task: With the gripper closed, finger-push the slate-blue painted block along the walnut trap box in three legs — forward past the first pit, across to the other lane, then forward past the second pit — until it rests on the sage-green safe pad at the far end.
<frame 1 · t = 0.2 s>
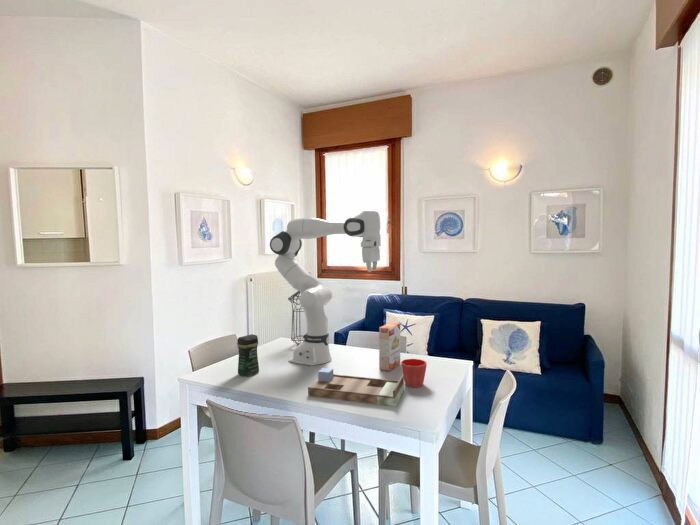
hand: (372, 270, 190), 48 cm above the table, fingers open, 8 cm apart
cube: (326, 379, 166), point 3 cm above the table, touching trap box
geometric lantern: (304, 345, 233), on the table
coffee jar: (248, 374, 184), on the table
trap box: (356, 392, 158), on the table
flower pot: (414, 384, 167), on the table
cracker box: (390, 367, 190), on the table
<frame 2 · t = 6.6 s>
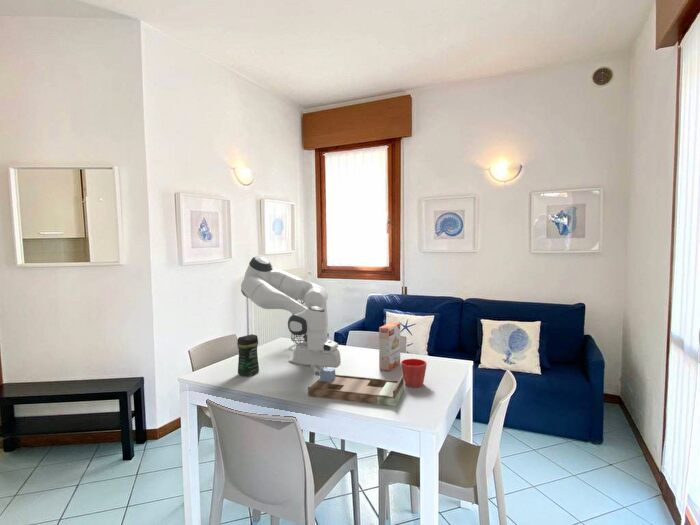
hand: (318, 375, 167), 4 cm above the table, fingers closed
cube: (327, 379, 166), point 3 cm above the table, touching gripper, trap box
everything else where it was.
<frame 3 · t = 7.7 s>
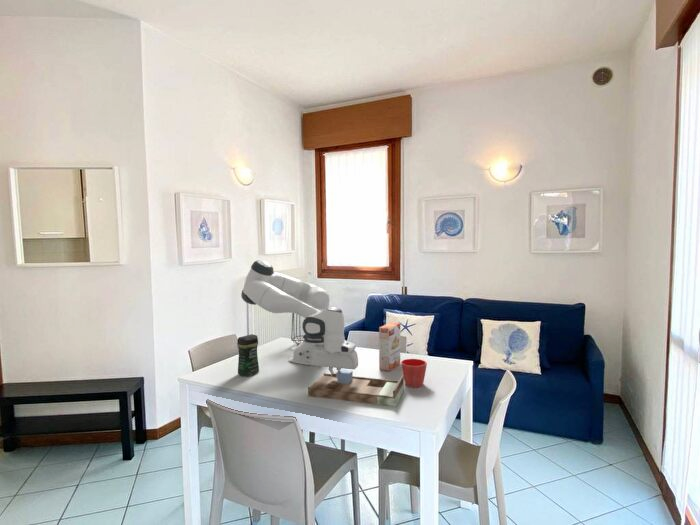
hand: (335, 377, 164), 4 cm above the table, fingers closed
cube: (345, 381, 163), point 3 cm above the table, touching trap box
everything else where it was.
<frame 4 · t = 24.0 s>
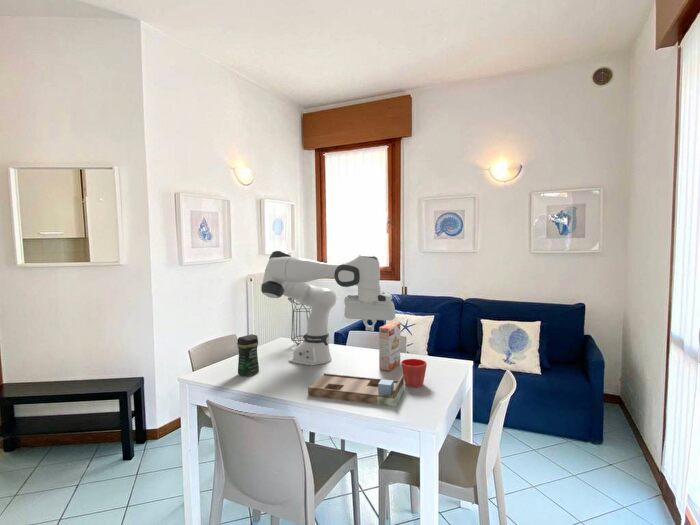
hand: (369, 330, 152), 27 cm above the table, fingers closed
cube: (386, 392, 151), point 3 cm above the table, touching trap box
everything else where it was.
at the end: cube inside the target area on the trap box (0.3 cm from its centre), point 3.0 cm above the trap box's base; cube tilted 0°; cube touching trap box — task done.
